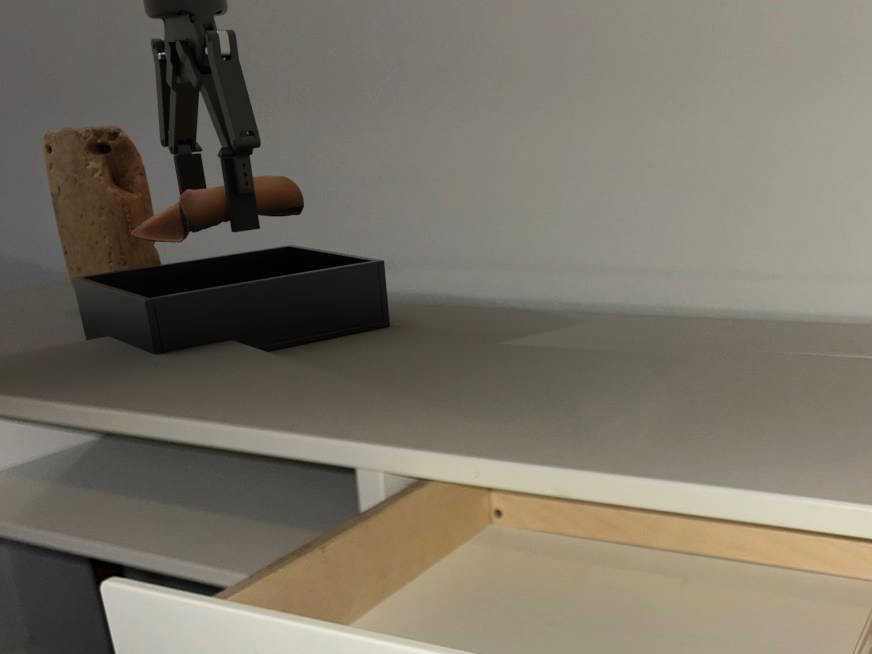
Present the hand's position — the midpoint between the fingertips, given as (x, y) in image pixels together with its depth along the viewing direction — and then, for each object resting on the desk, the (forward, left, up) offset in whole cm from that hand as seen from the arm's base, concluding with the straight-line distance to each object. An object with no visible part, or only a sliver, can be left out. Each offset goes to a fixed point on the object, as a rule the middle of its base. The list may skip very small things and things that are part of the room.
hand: (221, 226), depth 107 cm
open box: (0, 0, -11) cm, 11 cm away
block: (-3, +24, -11) cm, 26 cm away
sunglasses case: (0, 0, 0) cm, 0 cm away
